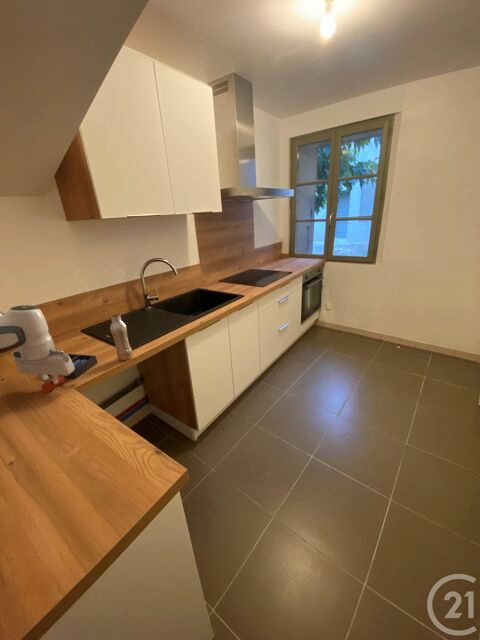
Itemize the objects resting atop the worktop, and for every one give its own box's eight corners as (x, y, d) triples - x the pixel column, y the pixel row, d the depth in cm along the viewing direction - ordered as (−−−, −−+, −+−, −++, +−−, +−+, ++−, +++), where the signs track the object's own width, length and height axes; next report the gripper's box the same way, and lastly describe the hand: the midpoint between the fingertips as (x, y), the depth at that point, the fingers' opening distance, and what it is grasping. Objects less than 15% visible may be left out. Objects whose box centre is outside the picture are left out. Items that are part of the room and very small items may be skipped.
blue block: (74, 373, 104) (72, 367, 103) (66, 373, 105) (64, 366, 103) (90, 363, 111) (88, 356, 110) (82, 362, 112) (80, 356, 111)
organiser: (42, 375, 105) (39, 368, 104) (67, 360, 116) (64, 353, 115) (75, 379, 102) (72, 371, 100) (97, 362, 113) (95, 355, 111)
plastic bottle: (122, 363, 111) (111, 319, 104) (115, 358, 115) (104, 316, 108) (136, 357, 115) (126, 315, 108) (129, 353, 120) (119, 312, 112)
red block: (50, 393, 93) (47, 386, 92) (41, 392, 94) (38, 385, 93) (67, 379, 101) (65, 373, 100) (59, 379, 102) (57, 372, 100)
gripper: (72, 346, 92) (83, 379, 98) (23, 344, 96) (35, 376, 101) (58, 355, 87) (70, 389, 92) (6, 353, 90) (20, 386, 95)
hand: (52, 383), depth 96 cm, fingers closed on red block
